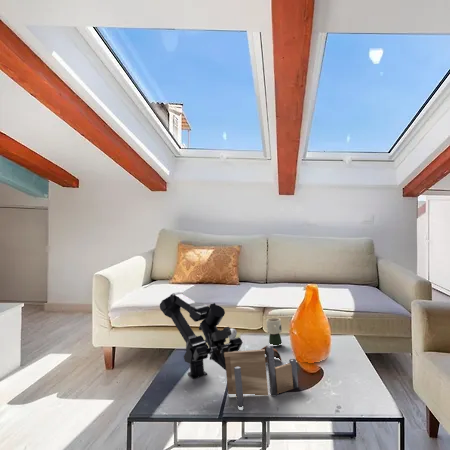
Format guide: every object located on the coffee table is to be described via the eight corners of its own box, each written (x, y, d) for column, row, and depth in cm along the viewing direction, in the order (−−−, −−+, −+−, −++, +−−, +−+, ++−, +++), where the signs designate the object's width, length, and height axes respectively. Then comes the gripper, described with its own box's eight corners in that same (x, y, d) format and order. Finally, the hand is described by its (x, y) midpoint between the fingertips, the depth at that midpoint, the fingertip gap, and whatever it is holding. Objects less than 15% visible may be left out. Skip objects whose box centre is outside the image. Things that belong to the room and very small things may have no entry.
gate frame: (233, 406, 129) (229, 356, 129) (295, 385, 141) (291, 339, 141) (240, 411, 125) (235, 359, 125) (303, 389, 137) (299, 342, 137)
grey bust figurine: (239, 348, 188) (237, 326, 188) (238, 354, 180) (236, 330, 180) (227, 349, 188) (225, 327, 188) (226, 355, 180) (224, 331, 180)
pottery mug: (286, 366, 162) (277, 352, 159) (267, 377, 162) (257, 363, 159) (278, 350, 173) (269, 336, 171) (260, 361, 173) (251, 347, 171)
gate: (228, 396, 136) (224, 352, 136) (268, 393, 135) (264, 349, 135) (227, 398, 134) (224, 353, 134) (268, 395, 134) (265, 350, 134)
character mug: (284, 349, 181) (282, 321, 181) (269, 350, 181) (267, 323, 181) (281, 341, 192) (279, 316, 192) (267, 343, 192) (265, 317, 192)
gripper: (193, 325, 139) (208, 364, 129) (238, 316, 148) (255, 351, 138) (187, 342, 146) (201, 380, 136) (230, 332, 155) (246, 367, 145)
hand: (227, 369), depth 139 cm, fingers closed
